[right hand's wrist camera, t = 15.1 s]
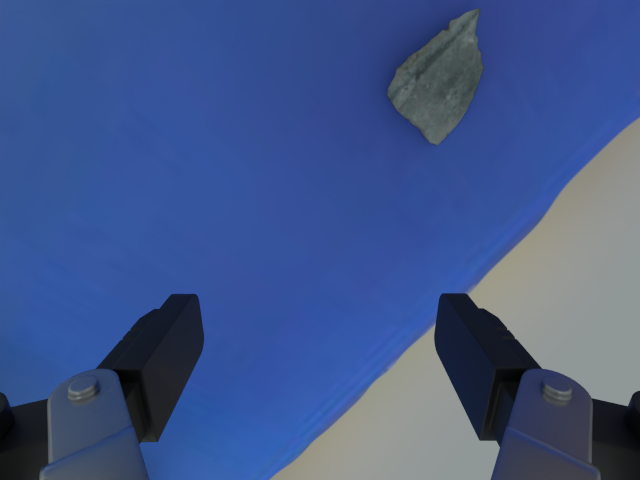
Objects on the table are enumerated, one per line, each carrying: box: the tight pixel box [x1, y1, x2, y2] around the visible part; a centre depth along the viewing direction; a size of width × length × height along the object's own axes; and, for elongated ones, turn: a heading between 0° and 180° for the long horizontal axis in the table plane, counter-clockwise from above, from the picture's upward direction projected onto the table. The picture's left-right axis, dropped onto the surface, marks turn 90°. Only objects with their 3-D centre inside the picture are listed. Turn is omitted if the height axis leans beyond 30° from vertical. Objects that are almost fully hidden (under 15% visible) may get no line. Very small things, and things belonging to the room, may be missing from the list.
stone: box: [387, 8, 484, 145], centre depth 34 cm, size 11×4×10 cm
